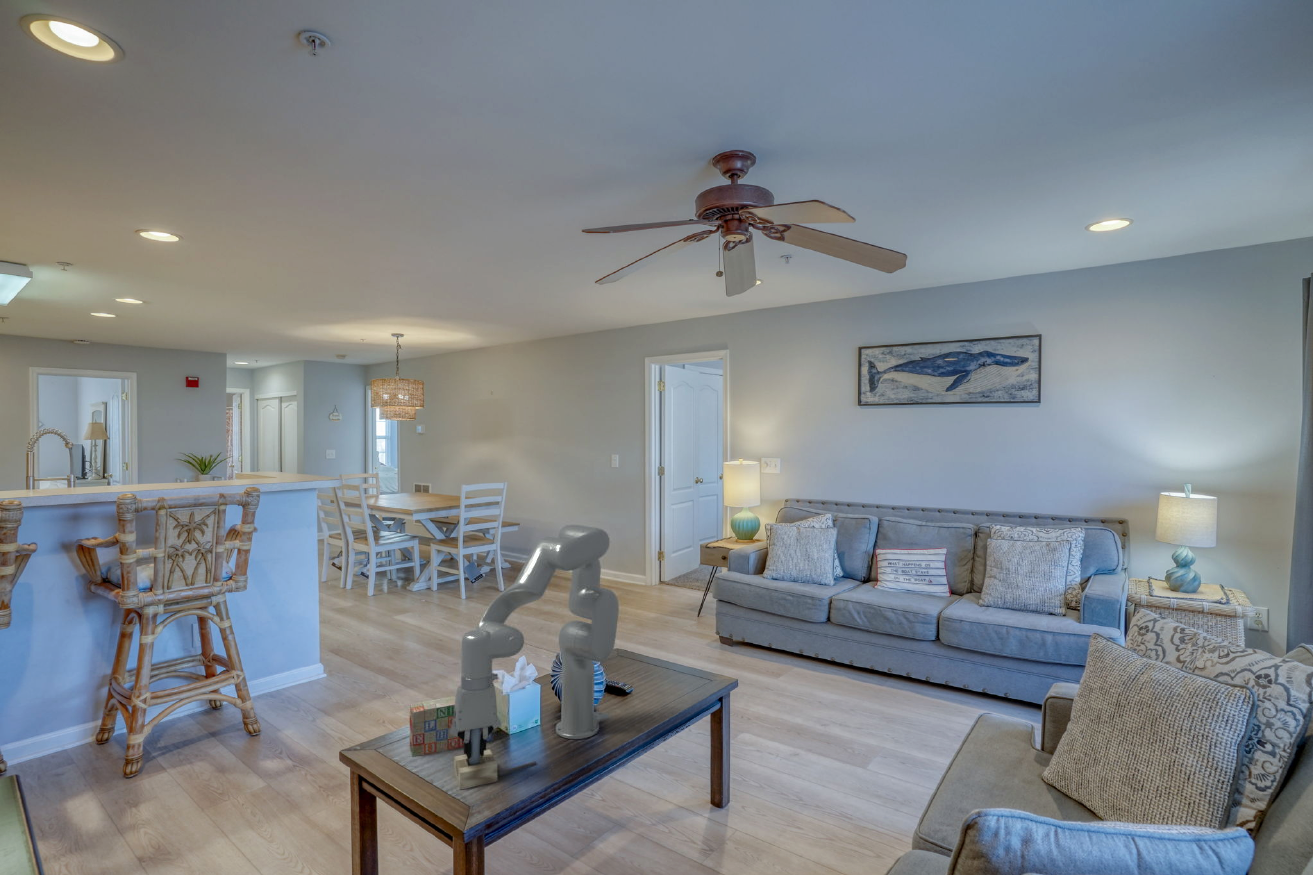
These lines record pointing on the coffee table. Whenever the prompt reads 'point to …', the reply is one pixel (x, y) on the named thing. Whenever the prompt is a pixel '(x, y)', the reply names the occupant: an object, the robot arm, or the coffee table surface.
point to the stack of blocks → (433, 727)
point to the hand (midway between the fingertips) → (474, 754)
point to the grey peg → (475, 746)
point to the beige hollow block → (475, 771)
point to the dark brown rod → (517, 768)
